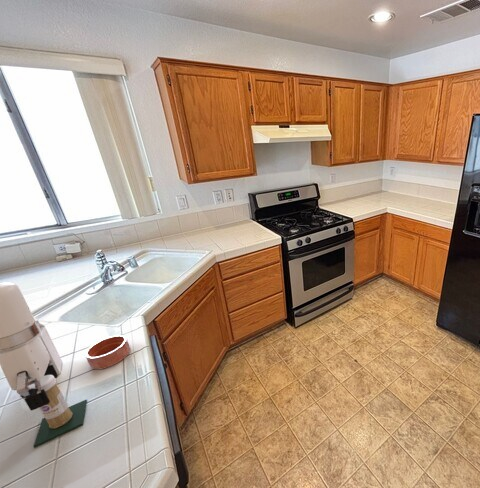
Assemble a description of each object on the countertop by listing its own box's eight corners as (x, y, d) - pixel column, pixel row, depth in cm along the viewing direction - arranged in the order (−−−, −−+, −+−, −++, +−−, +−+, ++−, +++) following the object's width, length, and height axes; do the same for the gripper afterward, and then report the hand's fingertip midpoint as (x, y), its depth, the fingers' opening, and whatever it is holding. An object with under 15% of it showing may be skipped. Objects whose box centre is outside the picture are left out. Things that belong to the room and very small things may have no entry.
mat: (34, 448, 63) (33, 446, 63) (43, 420, 70) (42, 418, 70) (83, 424, 68) (82, 423, 67) (87, 400, 75) (86, 399, 74)
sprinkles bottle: (46, 432, 66) (23, 392, 61) (54, 417, 69) (32, 378, 65) (70, 423, 68) (48, 384, 63) (76, 409, 71) (56, 371, 67)
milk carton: (33, 373, 86) (6, 325, 80) (62, 362, 90) (39, 315, 84) (29, 386, 81) (0, 336, 74) (60, 374, 85) (35, 325, 79)
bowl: (88, 376, 83) (83, 363, 82) (92, 356, 92) (87, 344, 90) (131, 359, 90) (126, 347, 88) (130, 342, 98) (126, 331, 97)
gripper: (4, 324, 64) (33, 378, 70) (-28, 366, 51) (12, 428, 56) (46, 312, 68) (71, 364, 74) (27, 348, 55) (59, 408, 61)
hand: (45, 392), depth 65 cm, fingers open, 9 cm apart
